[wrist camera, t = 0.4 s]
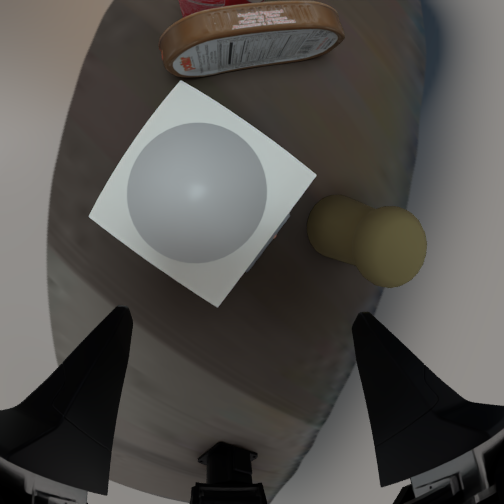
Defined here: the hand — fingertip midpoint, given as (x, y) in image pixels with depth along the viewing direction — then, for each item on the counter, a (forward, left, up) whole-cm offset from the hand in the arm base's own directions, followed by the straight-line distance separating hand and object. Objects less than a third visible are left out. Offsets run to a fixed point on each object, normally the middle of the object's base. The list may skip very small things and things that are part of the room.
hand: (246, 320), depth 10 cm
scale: (+2, +5, -15) cm, 16 cm away
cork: (+7, -7, -15) cm, 18 cm away
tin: (+15, +9, -15) cm, 23 cm away
